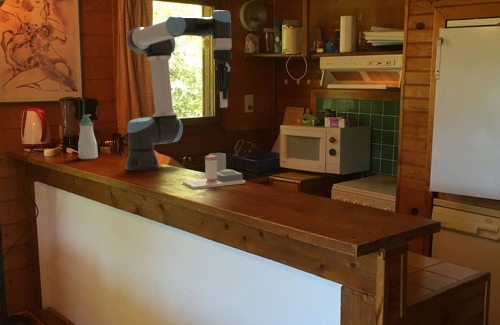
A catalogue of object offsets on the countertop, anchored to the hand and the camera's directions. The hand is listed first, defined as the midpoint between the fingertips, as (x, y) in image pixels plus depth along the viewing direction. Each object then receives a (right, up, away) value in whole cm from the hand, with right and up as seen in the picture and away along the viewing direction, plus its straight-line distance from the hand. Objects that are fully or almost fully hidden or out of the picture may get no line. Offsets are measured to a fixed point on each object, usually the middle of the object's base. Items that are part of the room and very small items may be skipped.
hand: (223, 107), depth 235 cm
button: (+2, -29, -6) cm, 30 cm away
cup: (-4, -28, +11) cm, 31 cm away
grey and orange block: (-5, -30, -10) cm, 32 cm away
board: (-4, -31, -9) cm, 33 cm away
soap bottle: (-75, -21, +65) cm, 101 cm away
